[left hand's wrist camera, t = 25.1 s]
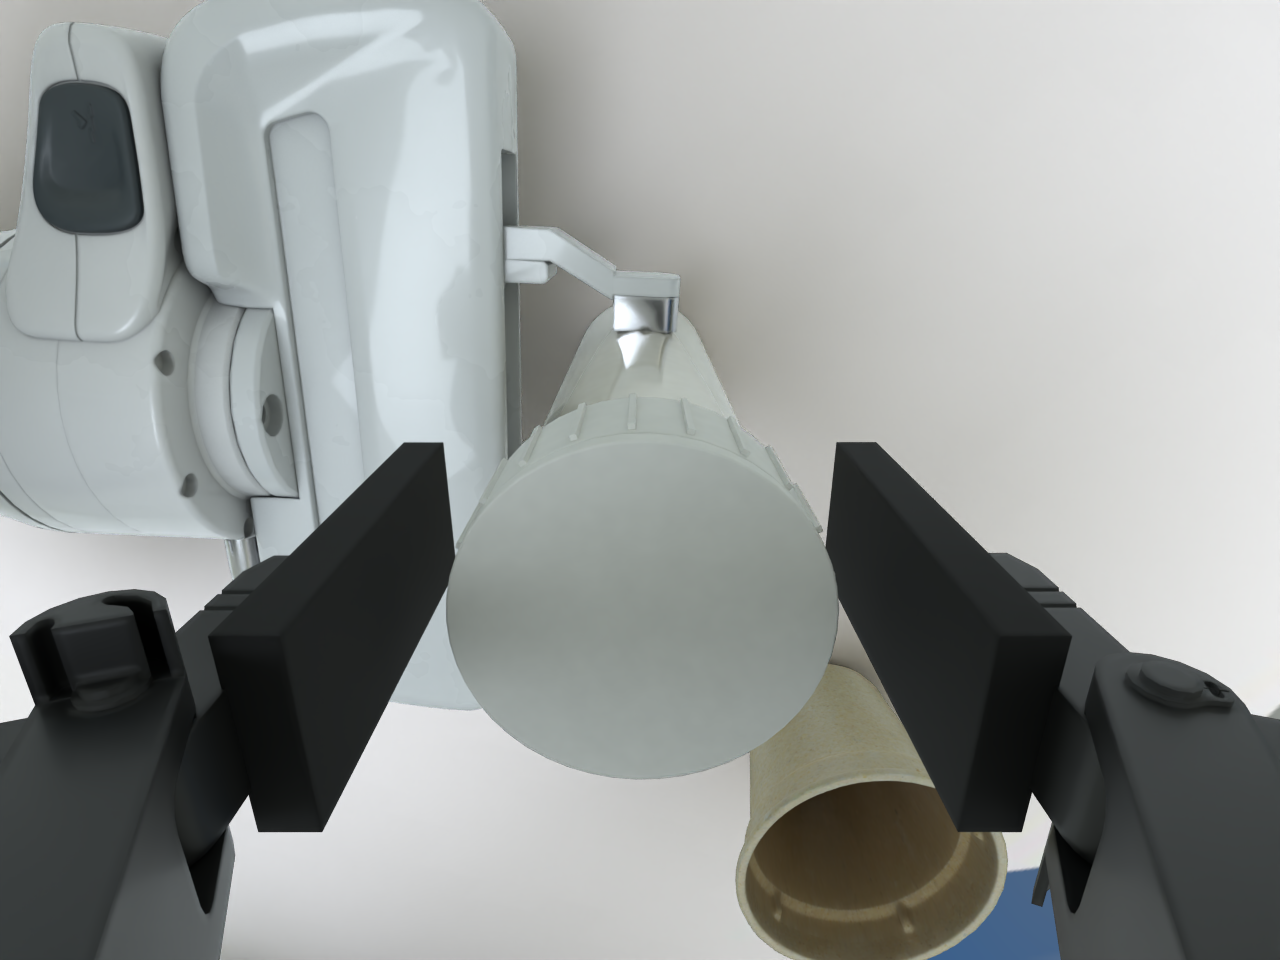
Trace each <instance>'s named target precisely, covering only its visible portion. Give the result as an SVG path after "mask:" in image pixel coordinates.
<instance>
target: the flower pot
mask: <svg viewBox="0 0 1280 960" xmlns="http://www.w3.org/2000/svg"><path fill="white" fill-rule="evenodd" d="M1007 862H1008V859H1007V850H1006V844H1005V841H1004V838H1003V835H1002V832H958V831H957V829H956V827H955V826H954V824H953V822H952V820H951V818H950V816H949V814H948V812H947V810H946V808H945V806H944V804H943V802H942V800H941V798H940V796H939V794H938V792H937V790H936V788H935V786H934V784H933V782H932V780H931V779H930V777H929V775H928V773H927V771H926V769H925V767H924V765H923V763H922V761H921V759H920V757H919V755H918V753H917V751H916V749H915V747H914V745H913V743H912V741H911V739H910V737H909V735H908V733H907V731H906V730H905V728H904V726H903V724H902V723H901V722H900V720H899V719H898V718H897V716H896V715H895V714H894V712H893V711H892V710H891V708H890V707H889V706H888V704H887V703H886V701H885V700H884V699H883V697H882V696H881V694H880V692H879V691H878V689H877V688H876V687H875V686H874V685H873V684H872V683H871V682H870V681H869V680H867V679H866V678H865V677H864V676H862V675H861V674H860V673H858V672H856V671H854V670H852V669H849V668H846V667H843V666H839V665H833V664H828V665H827V668H826V670H825V673H824V675H823V677H822V679H821V680H820V682H819V684H818V686H817V687H816V689H815V691H814V693H813V694H812V696H811V697H810V698H809V700H808V701H807V702H806V704H805V705H804V706H803V708H802V709H801V710H800V711H799V712H798V713H797V715H796V716H795V717H794V718H793V719H792V720H791V721H790V722H789V723H788V724H787V725H786V726H785V727H784V728H782V729H781V730H780V731H779V732H777V733H776V734H775V735H774V736H772V737H771V738H770V739H769V740H767V741H766V742H764V743H763V744H761V745H760V746H758V747H756V748H755V749H753V750H752V751H750V821H749V824H748V827H747V831H746V835H745V843H744V845H743V848H742V850H741V853H740V855H739V858H738V862H737V867H736V893H737V898H738V902H739V906H740V908H741V910H742V912H743V914H744V916H745V918H746V920H747V922H748V924H749V925H750V926H751V928H752V930H753V931H754V932H755V933H756V935H757V936H758V937H759V938H760V939H761V940H763V941H764V942H765V943H766V944H767V945H769V946H770V947H771V948H773V949H774V950H775V951H777V952H778V953H780V954H782V955H784V956H786V957H788V958H790V959H793V960H926V959H929V958H931V957H933V956H936V955H938V954H941V953H942V952H943V951H946V950H948V949H949V948H951V947H953V946H955V945H956V944H958V943H959V942H960V941H961V940H963V939H964V938H966V937H967V936H968V935H969V934H971V933H972V932H974V931H975V930H976V929H977V927H979V926H980V924H981V923H982V922H983V921H984V920H985V919H986V918H987V916H988V915H989V914H990V913H991V911H992V910H993V909H994V907H995V905H996V904H997V901H998V899H999V897H1000V895H1001V892H1002V891H1003V888H1004V883H1005V879H1006V874H1007Z"/></svg>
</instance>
